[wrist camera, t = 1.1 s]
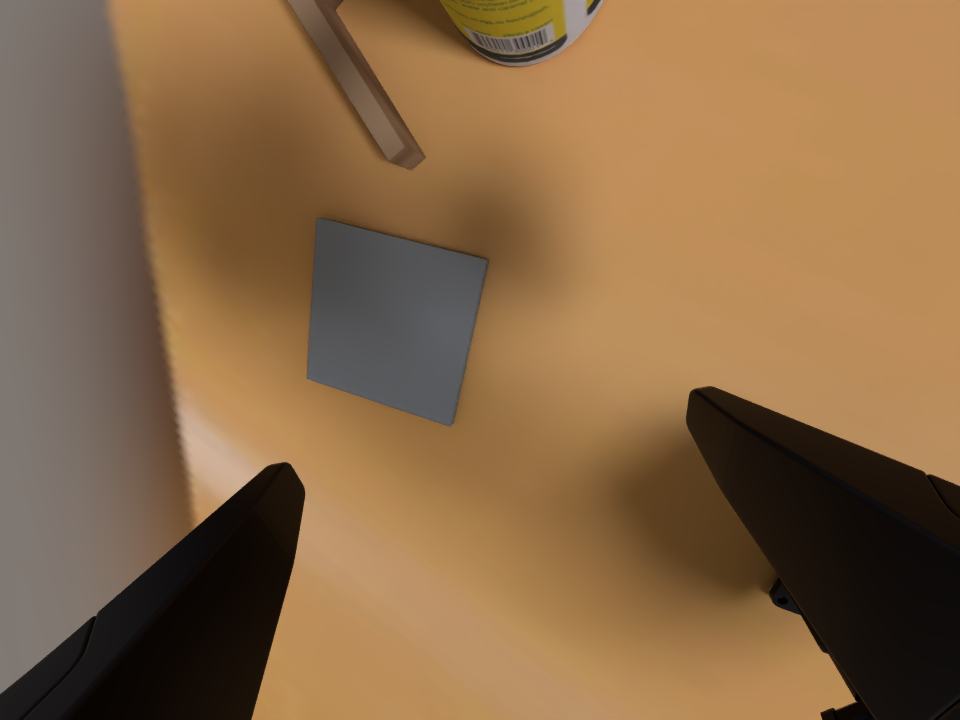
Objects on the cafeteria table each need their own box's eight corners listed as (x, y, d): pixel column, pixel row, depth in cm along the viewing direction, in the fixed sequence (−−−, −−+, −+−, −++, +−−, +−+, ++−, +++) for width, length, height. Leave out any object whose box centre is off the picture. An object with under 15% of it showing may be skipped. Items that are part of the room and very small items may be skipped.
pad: (489, 259, 20) (486, 260, 20) (453, 422, 24) (450, 426, 23) (323, 218, 22) (316, 217, 21) (312, 375, 25) (306, 378, 25)
